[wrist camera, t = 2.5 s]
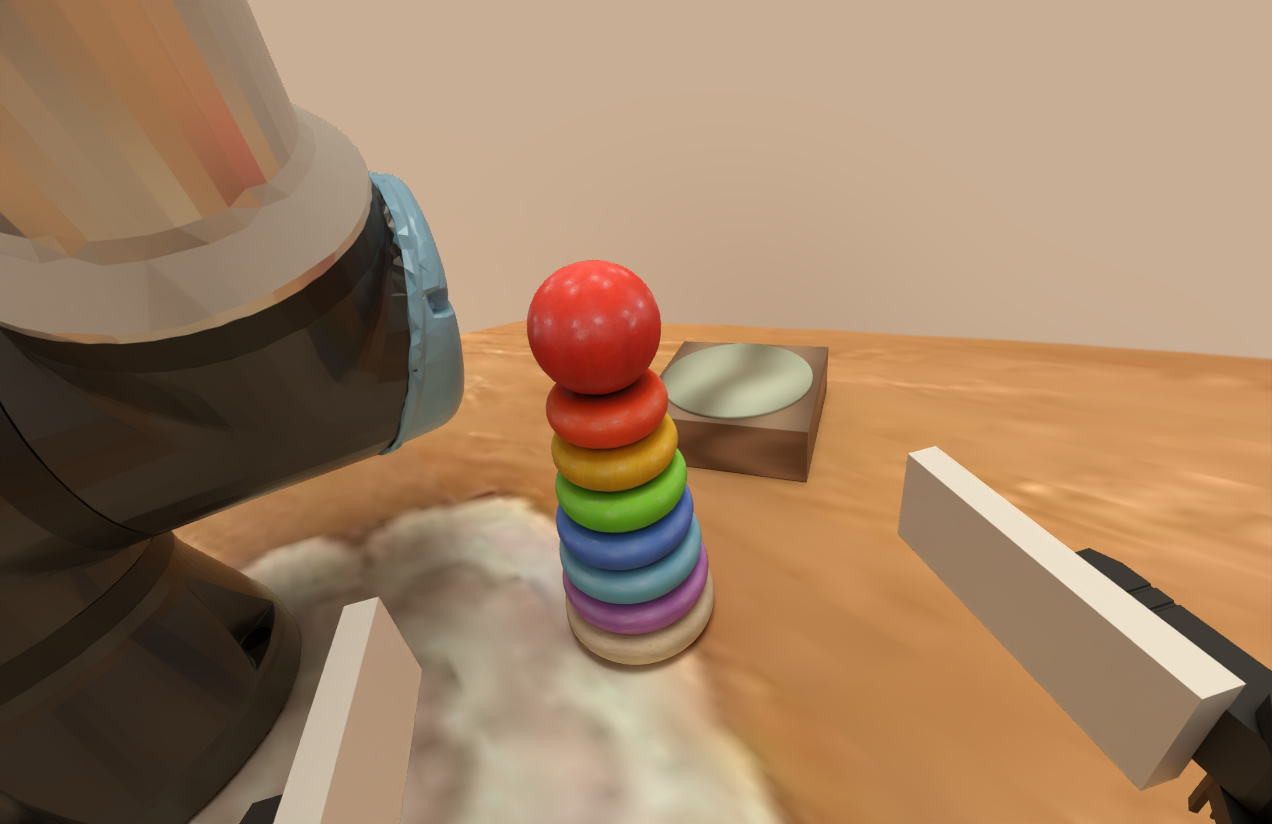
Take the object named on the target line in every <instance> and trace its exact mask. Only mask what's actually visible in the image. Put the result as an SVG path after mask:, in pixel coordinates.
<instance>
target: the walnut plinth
mask: <svg viewBox="0 0 1272 824" xmlns="http://www.w3.org/2000/svg"><path fill="white" fill-rule="evenodd" d="M827 366H828V347H813V346H787V345H763V344H748V343H741V344H735V343H709V342H684V343H683V344H682V346H681V347H680V348H679V350H678V351H677V353H676V354H675V355H674V357H673V358H672V360H671V361H670V362H669V364H668V365H667V367H666V368H665V370H664V371H663V372H662V374H661V375H660V378H661V380H662V381H663V383H664V384H665V387H666V389H667V393H668V407H667V412H666V413H668V415H669V416H670V417H671V418H672V420H673V422H674V424H675V426H676V429H677V434H678V444H677V449H678V450H679V451H680V453H681V454H682V456H683V458H684V460H685V463H686V466H692V467H699V468H706V469H714V470H721V471H729V472H736V473H744V474H751V475H758V476H766V477H773V478H781V479H788V480H795V481H803V482H807V477H808V473H809V468H810V464H811V459H812V454H813V450H814V445H815V440H816V436H817V431H818V427H819V422H820V417H821V413H822V408H823V404H824V399H825V394H826V386H827Z"/></svg>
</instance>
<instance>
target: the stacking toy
mask: <svg viewBox="0 0 1272 824" xmlns="http://www.w3.org/2000/svg"><path fill="white" fill-rule="evenodd" d="M527 334H528V340H529V344H530V347H531V350H532V353H533V355H534V357H535V359H536V361H537V362H538V364H539V365H540V367H541V368H542V369H543V371H544V372H545V373H546V374H547V375H548V376H549V377H550V378H551V379H552V380H553V381H555V382H557V383H556V384H555V385H554V387H553V388H552V390H551V391H550V393H549V395H548V398H547V402H546V414H547V418H548V421H549V423H550V425H551V427H552V428H553V430H554V431H555V434H554V437H553V440H552V446H551V449H552V457H553V460H554V463H555V465H556V467H557V469H558V473H557V476H556V494H557V498H558V501H559V505H558V509H557V515H556V523H557V530H558V534H559V537H560V558H561V563H562V566H563V584H564V588H565V592H566V610H567V616H568V620H569V623H570V625H571V627H572V629H573V631H574V633H575V635H576V636H577V637H578V639H579V640H580V641H581V642H582V643H583V644H584V645H585V646H586V647H587V648H588V649H590V650H591V651H592V652H594V653H595V654H597V655H599V656H601V657H603V658H605V659H607V660H610V661H613V662H617V663H622V664H631V665H642V664H650V663H655V662H659V661H662V660H665V659H667V658H670V657H672V656H674V655H676V654H678V653H679V652H681V651H682V650H684V649H685V648H686V647H688V646H689V645H690V644H691V643H692V642H693V641H694V640H695V639H696V638H697V637H698V636H699V635H700V634H701V632H702V631H703V629H704V628H705V626H706V624H707V622H708V620H709V618H710V615H711V613H712V609H713V605H714V593H715V590H714V582H713V578H712V575H711V572H710V569H709V567H708V556H707V552H706V549H705V546H704V543H703V541H702V536H701V529H700V526H699V522H698V520H697V518H696V516H695V514H694V512H693V499H692V495H691V492H690V490H689V487H688V486H687V484H686V481H687V467H686V463H685V460H684V458H683V456H682V454H681V453H680V451H679V450H678V449H677V444H678V434H677V429H676V426H675V424H674V422H673V420H672V418H671V417H670V416H669V415H668V413H666V412H667V407H668V393H667V389H666V387H665V384H664V383H663V381H662V380H661V378H660V377H659V376H658V375H657V374H656V373H654V372H653V371H652V370H650V369H648V367H649V366H650V364H651V362H652V360H653V358H654V357H655V354H656V352H657V349H658V346H659V342H660V335H661V320H660V313H659V310H658V307H657V304H656V301H655V299H654V297H653V295H652V293H651V291H650V290H649V288H648V287H647V285H646V284H645V283H644V282H643V281H642V280H641V279H640V278H639V277H638V276H637V275H635V274H634V273H633V272H631V271H630V270H628V269H627V268H624V267H622V266H620V265H618V264H615V263H611V262H608V261H600V260H588V261H581V262H577V263H573V264H570V265H568V266H565V267H563V268H561V269H559V270H557V271H556V272H555V273H553V274H552V275H551V276H550V277H548V278H547V279H546V280H545V281H544V283H543V284H542V285H541V286H540V288H539V289H538V290H537V292H536V293H535V295H534V298H533V300H532V303H531V304H530V308H529V312H528V318H527Z"/></svg>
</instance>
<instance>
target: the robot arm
mask: <svg viewBox="0 0 1272 824" xmlns="http://www.w3.org/2000/svg"><path fill="white" fill-rule="evenodd" d="M463 392H464V363H463V355H462V347H461V340H460V334H459V329H458V324H457V320H456V316H455V312H454V310H453V308H452V306H451V304H450V302H449V301H448V289H447V283H446V278H445V273H444V269H443V266H442V263H441V259H440V256H439V253H438V250H437V247H436V244H435V242H434V239H433V236H432V234H431V231H430V229H429V226H428V223H427V221H426V219H425V217H424V215H423V213H422V211H421V209H420V207H419V205H418V203H417V201H416V200H415V198H414V196H413V194H412V192H411V191H410V189H409V188H408V187H407V186H406V184H405V183H404V182H402V181H401V180H400V179H399V178H397V177H395V176H393V175H389V174H378V173H374V172H371V171H368V169H367V166H366V164H365V161H364V159H363V157H362V155H361V154H360V152H359V150H358V148H357V147H356V146H355V145H354V144H353V143H352V142H351V140H350V139H349V138H348V137H347V136H346V135H345V134H344V133H343V132H341V131H340V130H339V129H338V128H337V127H335V126H333V125H332V124H330V123H329V122H327V121H325V120H324V119H322V118H320V117H318V116H316V115H314V114H312V113H310V112H308V111H306V110H304V109H302V108H300V107H298V106H296V105H294V104H292V103H290V101H289V98H288V96H287V93H286V91H285V89H284V87H283V84H282V82H281V79H280V77H279V75H278V72H277V70H276V68H275V65H274V63H273V60H272V58H271V56H270V53H269V51H268V49H267V46H266V44H265V42H264V39H263V37H262V35H261V32H260V30H259V28H258V25H257V23H256V21H255V18H254V16H253V14H252V11H251V9H250V6H249V4H248V2H247V0H0V824H184V823H185V822H186V821H187V820H188V819H190V818H191V817H192V816H193V815H194V814H195V813H196V812H197V811H198V810H199V809H201V808H202V807H203V806H204V805H205V804H206V803H207V802H208V801H209V800H210V799H211V798H212V797H213V796H214V795H215V794H216V793H217V792H218V791H219V790H220V789H221V788H222V787H223V786H224V785H225V784H226V783H227V781H228V780H229V779H230V778H231V777H232V776H233V775H234V774H235V773H236V771H237V770H238V769H239V768H240V767H241V766H242V765H243V763H244V762H245V761H246V760H247V758H248V757H249V756H250V755H251V753H252V752H253V751H254V750H255V748H256V747H257V746H258V744H259V743H260V741H261V740H262V739H263V737H264V736H265V734H266V733H267V731H268V730H269V728H270V727H271V725H272V724H273V722H274V721H275V719H276V717H277V716H278V714H279V712H280V710H281V708H282V707H283V705H284V703H285V701H286V699H287V697H288V695H289V692H290V690H291V688H292V685H293V683H294V680H295V677H296V674H297V670H298V666H299V661H300V655H301V639H300V633H299V629H298V627H297V624H296V622H295V621H294V619H293V618H292V616H291V615H290V614H289V612H288V611H287V610H286V608H285V607H284V606H283V604H282V603H281V602H280V600H279V599H278V598H277V597H276V595H275V594H274V593H273V592H271V591H270V590H269V589H268V588H267V587H265V586H264V585H262V584H261V583H259V582H257V581H255V580H253V579H251V578H249V577H248V576H246V575H244V574H242V573H240V572H238V571H236V570H234V569H233V568H231V567H229V566H227V565H225V564H223V563H221V562H219V561H218V560H216V559H214V558H212V557H210V556H208V555H206V554H205V553H203V552H201V551H199V550H197V549H195V548H193V547H191V546H190V545H188V544H186V543H184V542H182V541H181V540H180V539H178V538H177V536H176V535H175V534H174V533H173V532H172V531H171V530H173V529H176V528H179V527H181V526H184V525H187V524H189V523H192V522H195V521H197V520H200V519H203V518H205V517H208V516H211V515H213V514H216V513H219V512H221V511H224V510H227V509H229V508H232V507H235V506H237V505H240V504H243V503H245V502H248V501H251V500H253V499H256V498H259V497H262V496H264V495H267V494H270V493H273V492H275V491H278V490H281V489H284V488H287V487H289V486H292V485H295V484H298V483H300V482H303V481H306V480H309V479H312V478H314V477H317V476H320V475H323V474H325V473H328V472H331V471H334V470H337V469H339V468H342V467H345V466H348V465H351V464H353V463H356V462H359V461H362V460H364V459H367V458H370V457H373V456H376V455H384V454H388V453H392V452H393V451H395V450H397V449H398V448H399V447H401V446H402V444H403V443H405V442H407V441H409V440H411V439H414V438H416V437H418V436H421V435H423V434H425V433H428V432H430V431H432V430H435V429H437V428H439V427H441V426H443V425H444V424H446V423H447V422H448V421H449V420H450V419H451V418H452V417H453V416H454V415H455V413H456V412H457V410H458V408H459V406H460V404H461V401H462V397H463ZM898 535H899V536H900V537H901V538H902V539H903V540H904V541H905V542H906V543H907V544H908V545H909V546H910V547H911V548H912V550H913V551H914V552H915V553H916V554H917V555H918V556H919V557H920V558H921V559H922V560H923V561H924V562H925V563H926V564H927V565H928V566H929V568H930V569H931V570H932V571H933V572H934V573H935V574H936V575H937V576H938V577H939V578H940V579H941V580H942V581H943V582H944V583H945V585H946V586H947V587H948V588H949V589H950V590H951V591H952V592H953V593H954V594H955V595H956V596H957V597H958V598H959V599H960V600H961V602H962V603H963V604H964V605H965V606H966V607H967V608H968V609H969V610H970V611H971V612H972V613H973V614H974V615H975V616H976V617H977V618H978V620H979V621H980V622H981V623H982V624H983V625H984V626H985V627H986V628H987V629H988V630H989V631H990V632H991V633H992V634H993V635H994V637H995V638H996V639H997V640H998V641H999V642H1000V643H1001V644H1002V645H1003V646H1004V647H1005V648H1006V649H1007V650H1008V651H1009V652H1010V653H1011V655H1012V656H1013V657H1014V658H1015V659H1016V660H1017V661H1018V662H1019V663H1020V664H1021V665H1022V666H1023V667H1024V668H1025V669H1026V670H1027V672H1028V673H1029V674H1030V675H1031V676H1032V677H1033V678H1034V679H1035V680H1036V681H1037V682H1038V683H1039V684H1040V685H1041V686H1042V687H1043V689H1044V690H1045V691H1046V692H1047V693H1048V694H1049V695H1050V696H1051V697H1052V698H1053V699H1054V700H1055V701H1056V702H1057V703H1058V704H1059V705H1060V707H1061V708H1062V709H1063V710H1064V711H1065V712H1066V713H1067V714H1068V715H1069V716H1070V717H1071V718H1072V719H1073V720H1074V721H1075V722H1076V724H1077V725H1078V726H1079V727H1080V728H1081V729H1082V730H1083V731H1084V732H1085V733H1086V734H1087V735H1088V736H1089V737H1090V738H1091V739H1092V740H1093V742H1094V743H1095V744H1096V745H1097V746H1098V747H1099V748H1100V749H1101V750H1102V751H1103V752H1104V753H1105V754H1106V755H1107V756H1108V757H1109V759H1110V760H1111V761H1112V762H1113V763H1114V764H1115V765H1116V766H1117V767H1118V768H1119V769H1120V770H1121V771H1122V772H1123V773H1124V774H1125V775H1126V777H1127V778H1128V779H1129V780H1130V781H1131V782H1132V783H1133V784H1134V785H1135V786H1136V787H1137V788H1138V789H1139V790H1140V791H1142V790H1145V789H1147V788H1150V787H1153V786H1156V785H1158V784H1161V783H1164V782H1167V781H1169V780H1172V779H1175V778H1178V777H1179V776H1180V774H1181V773H1182V771H1183V770H1184V769H1185V767H1186V766H1187V765H1188V763H1189V762H1190V760H1191V759H1193V760H1194V761H1195V762H1196V763H1197V764H1198V765H1199V766H1200V767H1201V768H1203V769H1204V770H1205V771H1206V772H1207V775H1206V776H1205V777H1204V778H1203V780H1202V781H1201V782H1200V784H1199V785H1198V786H1197V787H1196V789H1195V790H1194V791H1193V793H1192V794H1191V795H1190V796H1189V798H1188V803H1189V811H1191V812H1194V813H1198V812H1199V811H1200V810H1201V809H1202V807H1203V806H1204V805H1205V804H1206V802H1207V801H1208V800H1209V802H1210V805H1211V809H1212V812H1211V814H1210V818H1211V819H1214V820H1215V822H1216V824H1272V671H1271V670H1270V669H1268V668H1267V667H1265V666H1264V665H1263V664H1261V663H1260V662H1258V661H1257V660H1256V659H1254V658H1253V657H1251V656H1250V655H1249V654H1247V653H1246V652H1245V651H1243V650H1242V649H1240V648H1239V647H1238V646H1236V645H1235V644H1233V643H1232V642H1231V641H1229V640H1228V639H1227V638H1225V637H1224V636H1222V635H1221V634H1220V633H1218V632H1217V631H1215V630H1214V629H1213V628H1211V627H1210V626H1209V625H1207V624H1206V623H1204V622H1203V621H1202V620H1200V619H1199V618H1198V617H1196V616H1195V615H1193V614H1192V613H1191V612H1189V611H1188V610H1186V609H1185V608H1184V607H1182V606H1181V605H1176V604H1175V603H1174V600H1173V599H1171V598H1170V597H1168V596H1167V595H1166V594H1164V593H1163V592H1162V591H1160V590H1159V589H1157V588H1153V587H1152V586H1151V583H1149V582H1148V581H1146V580H1145V579H1144V578H1142V577H1141V576H1139V575H1138V574H1137V573H1135V572H1134V571H1133V570H1131V569H1130V568H1128V567H1127V566H1126V565H1124V564H1123V563H1121V562H1119V561H1117V560H1114V559H1112V558H1110V557H1108V556H1106V555H1103V554H1101V553H1099V552H1097V551H1095V550H1092V549H1090V548H1088V549H1085V550H1081V551H1078V552H1073V551H1072V550H1071V549H1069V548H1068V547H1067V546H1065V545H1064V544H1063V543H1061V542H1060V541H1059V540H1058V539H1056V538H1055V537H1054V536H1052V535H1051V534H1050V533H1048V532H1047V531H1046V530H1044V529H1043V528H1042V527H1041V526H1039V525H1038V524H1037V523H1035V522H1034V521H1033V520H1031V519H1030V518H1029V517H1027V516H1026V515H1025V514H1024V513H1022V512H1021V511H1020V510H1018V509H1017V508H1016V507H1014V506H1013V505H1012V504H1010V503H1009V502H1008V501H1007V500H1005V499H1004V498H1003V497H1001V496H1000V495H999V494H997V493H996V492H995V491H993V490H992V489H991V488H990V487H988V486H987V485H986V484H984V483H983V482H982V481H980V480H979V479H978V478H976V477H975V476H974V475H973V474H971V473H970V472H969V471H967V470H966V469H965V468H963V467H962V466H961V465H960V464H958V463H957V462H956V461H954V460H953V459H952V458H950V457H949V456H948V455H946V454H945V453H944V452H943V451H941V450H940V449H939V448H937V447H936V446H934V447H931V448H927V449H923V450H919V451H916V452H912V453H908V458H907V465H906V473H905V481H904V488H903V496H902V503H901V511H900V518H899V526H898ZM421 675H422V669H421V667H420V666H419V664H418V662H417V660H416V659H415V657H414V655H413V654H412V652H411V650H410V649H409V647H408V645H407V644H406V642H405V640H404V638H403V637H402V635H401V633H400V632H399V630H398V628H397V627H396V625H395V623H394V622H393V620H392V618H391V616H390V615H389V613H388V611H387V610H386V608H385V606H384V605H383V603H382V601H381V599H380V598H379V597H375V598H372V599H368V600H364V601H361V602H357V603H353V604H349V605H346V606H344V608H343V611H342V614H341V617H340V620H339V623H338V626H337V629H336V632H335V635H334V638H333V642H332V645H331V648H330V651H329V654H328V657H327V660H326V663H325V666H324V669H323V672H322V675H321V678H320V682H319V685H318V688H317V691H316V694H315V697H314V700H313V703H312V706H311V709H310V712H309V715H308V718H307V722H306V725H305V728H304V731H303V734H302V737H301V740H300V743H299V746H298V749H297V752H296V755H295V759H294V762H293V765H292V768H291V771H290V774H289V777H288V780H287V783H286V786H285V789H284V792H283V794H282V795H278V796H275V797H272V798H268V799H265V800H262V801H259V802H255V803H253V804H252V805H251V807H250V808H249V810H248V811H247V813H246V814H245V816H244V817H243V819H242V820H241V822H240V823H239V824H400V818H401V811H402V805H403V798H404V791H405V784H406V777H407V770H408V764H409V757H410V750H411V743H412V736H413V729H414V723H415V716H416V709H417V702H418V695H419V688H420V682H421Z"/></svg>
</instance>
